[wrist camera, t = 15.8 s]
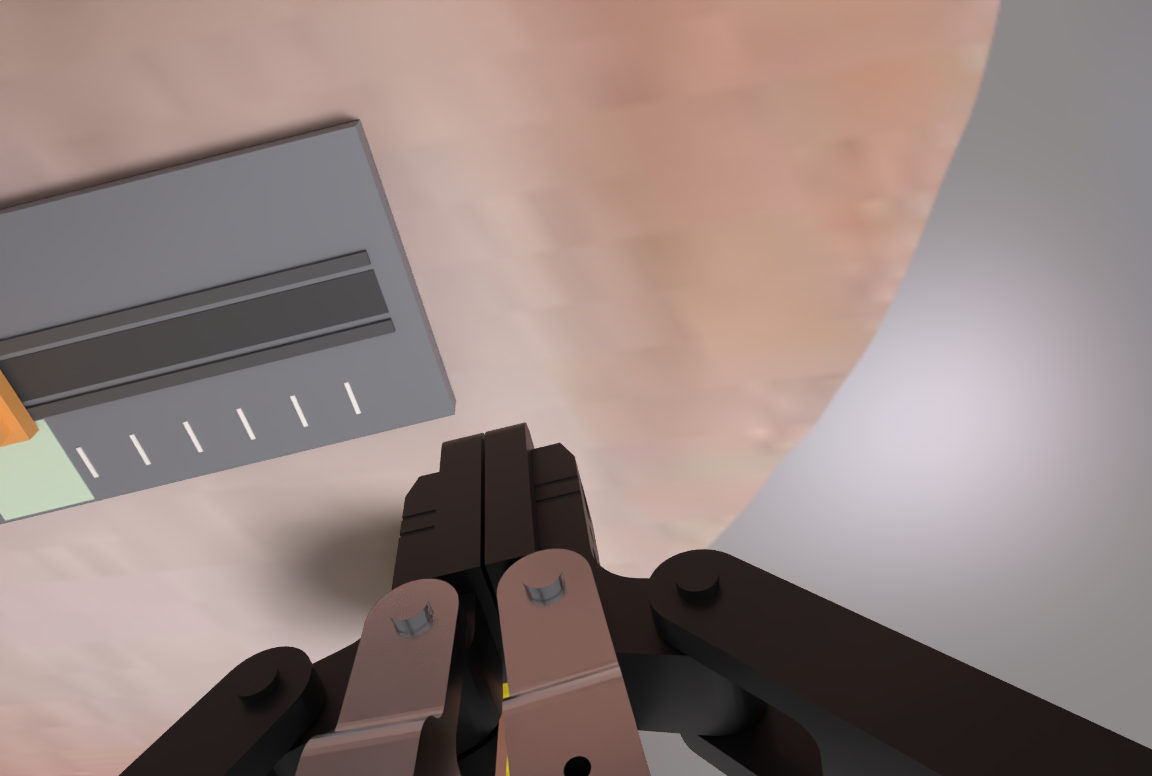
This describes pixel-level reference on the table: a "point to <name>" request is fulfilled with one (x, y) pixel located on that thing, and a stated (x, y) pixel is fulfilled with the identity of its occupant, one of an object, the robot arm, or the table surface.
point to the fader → (13, 417)
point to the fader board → (208, 321)
